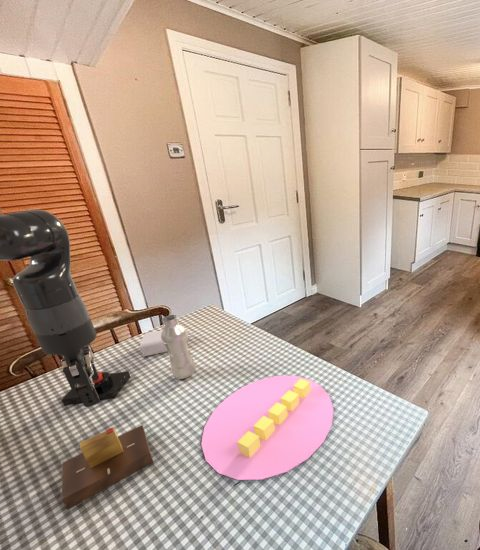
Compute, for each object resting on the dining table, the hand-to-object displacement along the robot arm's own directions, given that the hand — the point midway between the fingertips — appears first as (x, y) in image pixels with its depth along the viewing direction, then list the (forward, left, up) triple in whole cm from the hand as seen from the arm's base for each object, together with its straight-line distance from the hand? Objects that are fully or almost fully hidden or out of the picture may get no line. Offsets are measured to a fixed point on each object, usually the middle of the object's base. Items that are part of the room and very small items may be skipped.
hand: (92, 391), depth 61 cm
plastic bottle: (+5, +26, -19) cm, 33 cm away
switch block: (-17, +24, -18) cm, 35 cm away
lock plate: (-1, -3, -18) cm, 19 cm away
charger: (-5, +44, -19) cm, 48 cm away
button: (-17, +24, -15) cm, 33 cm away
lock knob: (-1, -3, -15) cm, 16 cm away
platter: (+32, +3, -19) cm, 38 cm away
